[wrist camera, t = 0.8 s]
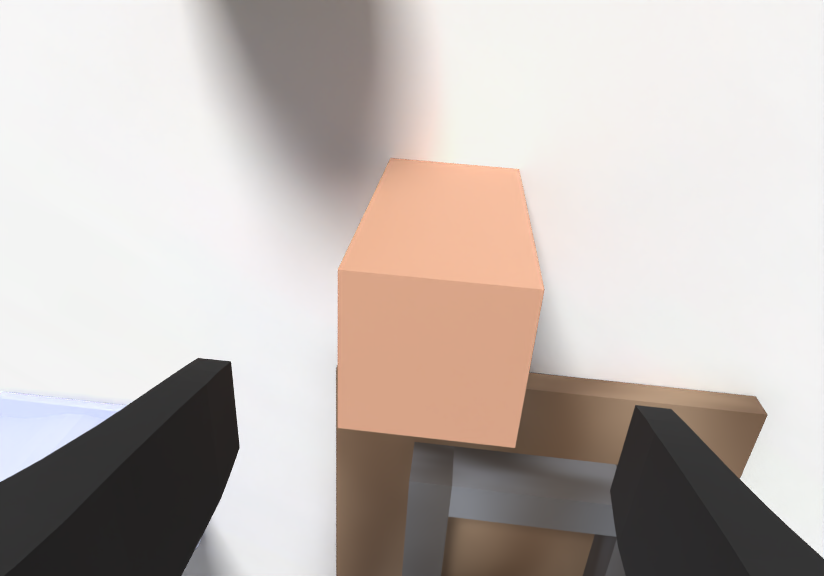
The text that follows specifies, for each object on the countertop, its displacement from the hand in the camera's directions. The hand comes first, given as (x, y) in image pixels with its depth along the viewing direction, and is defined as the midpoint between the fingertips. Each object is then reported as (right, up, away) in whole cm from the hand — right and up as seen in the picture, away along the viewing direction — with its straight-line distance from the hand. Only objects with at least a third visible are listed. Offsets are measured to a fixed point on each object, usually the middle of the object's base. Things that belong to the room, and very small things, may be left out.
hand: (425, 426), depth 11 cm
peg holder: (+4, -7, +15) cm, 17 cm away
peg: (+1, +5, +9) cm, 10 cm away
